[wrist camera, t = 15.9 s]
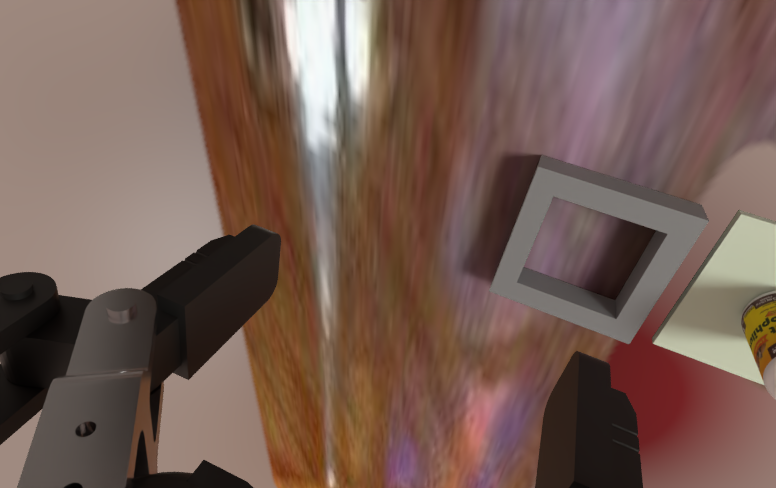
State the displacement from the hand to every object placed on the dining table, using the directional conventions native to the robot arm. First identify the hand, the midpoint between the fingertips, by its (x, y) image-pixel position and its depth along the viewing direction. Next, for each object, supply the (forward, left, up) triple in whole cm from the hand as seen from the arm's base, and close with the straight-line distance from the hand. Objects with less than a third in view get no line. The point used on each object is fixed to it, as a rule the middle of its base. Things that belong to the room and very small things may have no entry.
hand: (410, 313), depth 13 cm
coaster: (+12, +25, -32) cm, 42 cm away
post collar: (+12, +9, -32) cm, 35 cm away
